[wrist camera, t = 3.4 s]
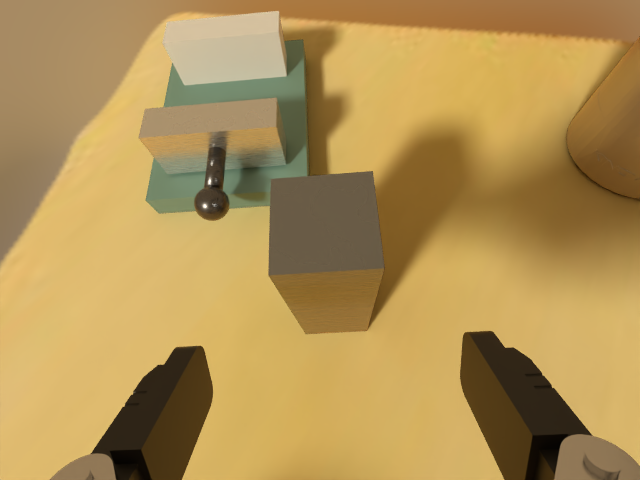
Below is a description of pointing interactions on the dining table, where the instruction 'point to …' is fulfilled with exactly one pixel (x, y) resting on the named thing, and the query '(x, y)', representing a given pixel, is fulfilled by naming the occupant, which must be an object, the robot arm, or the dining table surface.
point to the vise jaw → (215, 143)
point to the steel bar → (326, 249)
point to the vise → (234, 98)
